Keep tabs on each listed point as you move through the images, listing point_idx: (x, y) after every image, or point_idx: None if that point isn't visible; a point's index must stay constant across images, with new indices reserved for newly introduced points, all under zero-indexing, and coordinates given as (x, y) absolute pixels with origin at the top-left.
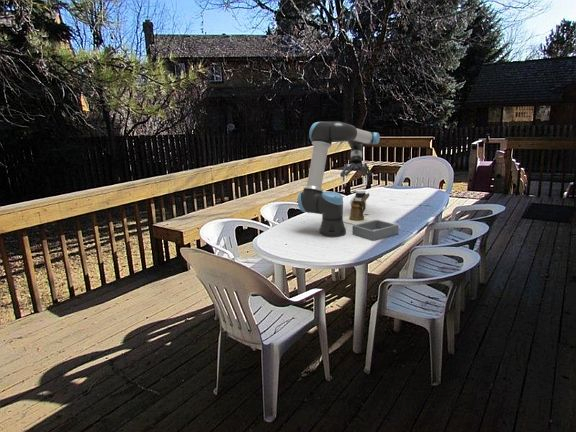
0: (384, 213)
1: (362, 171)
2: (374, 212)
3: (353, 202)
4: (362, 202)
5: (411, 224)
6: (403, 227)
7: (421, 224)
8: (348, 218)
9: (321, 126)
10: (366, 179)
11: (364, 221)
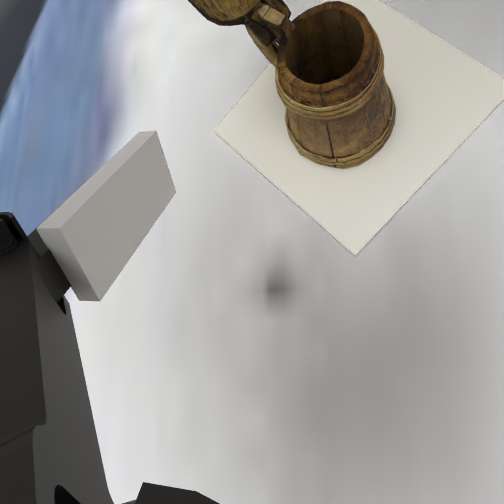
0: (158, 327)
1: (74, 405)
2: (220, 355)
3: (357, 8)
4: (266, 2)
5: (49, 91)
6: (89, 24)
7: (10, 102)
8: (403, 121)
9: None
10: (108, 166)
11: None
